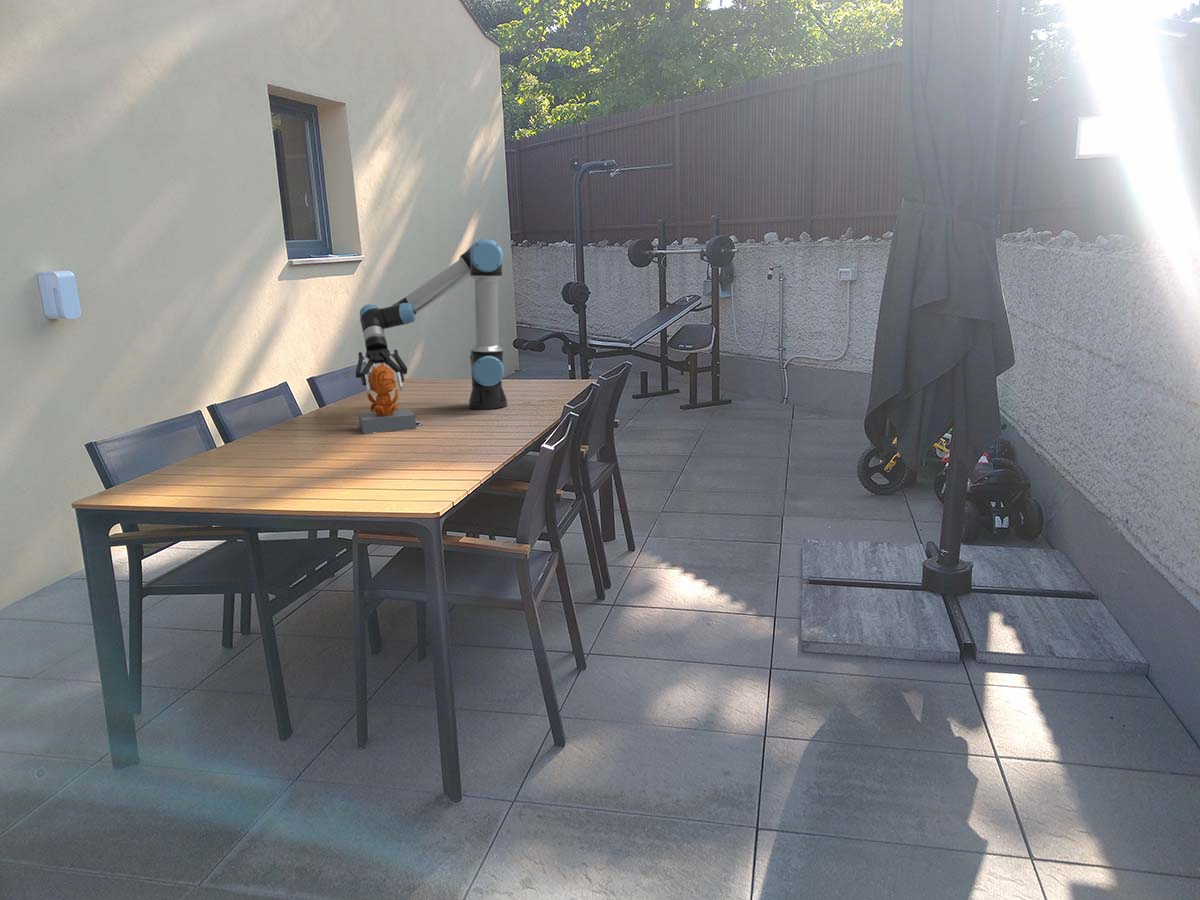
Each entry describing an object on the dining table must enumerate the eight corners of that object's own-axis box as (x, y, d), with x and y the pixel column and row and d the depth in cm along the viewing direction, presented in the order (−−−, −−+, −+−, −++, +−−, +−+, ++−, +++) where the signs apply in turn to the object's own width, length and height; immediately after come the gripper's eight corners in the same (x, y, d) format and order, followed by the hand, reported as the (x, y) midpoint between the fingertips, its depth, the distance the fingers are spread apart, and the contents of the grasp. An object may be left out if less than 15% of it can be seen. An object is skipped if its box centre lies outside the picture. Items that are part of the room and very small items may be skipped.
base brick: (409, 422, 331) (408, 409, 330) (416, 428, 318) (415, 415, 317) (359, 427, 325) (358, 413, 324) (363, 434, 312) (362, 420, 311)
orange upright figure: (405, 411, 325) (401, 361, 321) (394, 417, 314) (390, 366, 310) (375, 411, 326) (371, 361, 322) (364, 417, 316) (359, 366, 312)
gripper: (407, 346, 334) (417, 393, 323) (342, 350, 326) (351, 399, 315) (408, 332, 328) (418, 380, 317) (342, 337, 320) (351, 386, 309)
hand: (385, 390), depth 316 cm, fingers open, 11 cm apart
